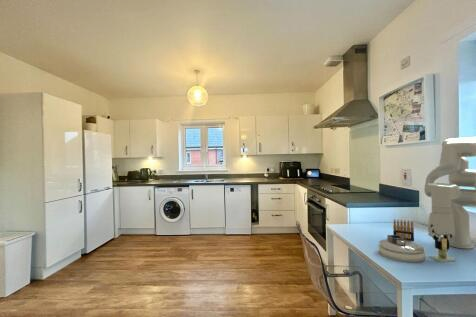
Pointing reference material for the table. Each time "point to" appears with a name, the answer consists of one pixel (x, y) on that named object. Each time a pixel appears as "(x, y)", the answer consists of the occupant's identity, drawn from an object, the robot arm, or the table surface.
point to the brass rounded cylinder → (443, 248)
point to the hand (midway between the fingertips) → (442, 248)
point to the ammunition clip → (404, 230)
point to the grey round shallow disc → (401, 245)
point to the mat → (443, 259)
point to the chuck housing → (402, 256)
